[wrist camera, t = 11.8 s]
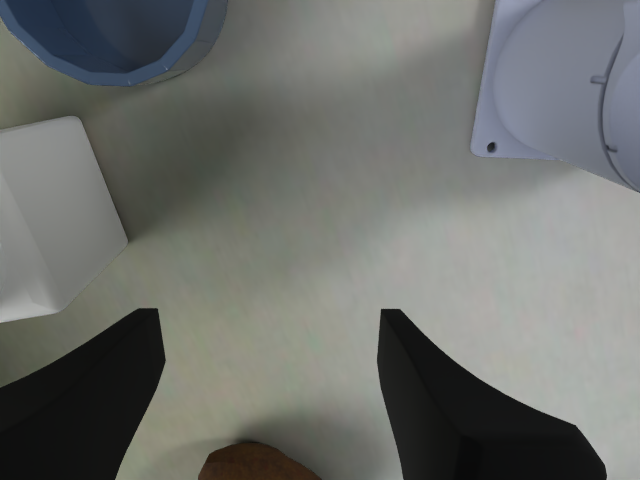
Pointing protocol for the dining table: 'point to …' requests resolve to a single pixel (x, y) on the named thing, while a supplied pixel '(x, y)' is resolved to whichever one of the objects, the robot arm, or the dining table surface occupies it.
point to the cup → (116, 36)
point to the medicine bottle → (52, 218)
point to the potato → (253, 464)
